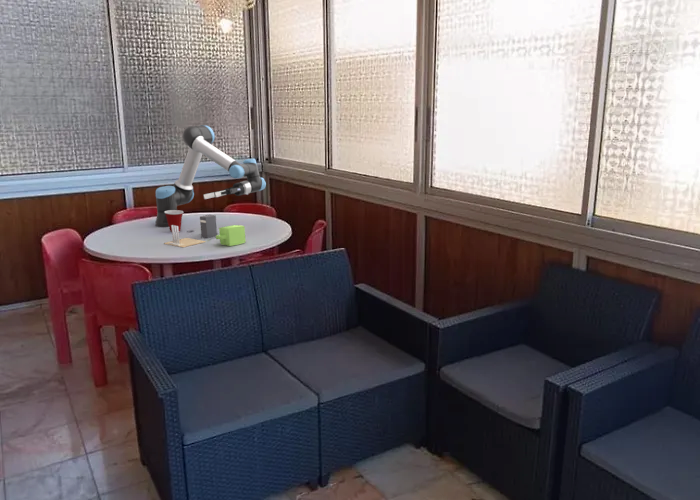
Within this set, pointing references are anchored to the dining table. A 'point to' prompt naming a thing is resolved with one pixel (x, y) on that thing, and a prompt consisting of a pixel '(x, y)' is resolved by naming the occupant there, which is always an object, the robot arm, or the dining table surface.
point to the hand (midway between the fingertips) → (209, 195)
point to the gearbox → (231, 235)
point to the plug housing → (208, 226)
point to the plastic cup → (174, 218)
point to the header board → (184, 241)
